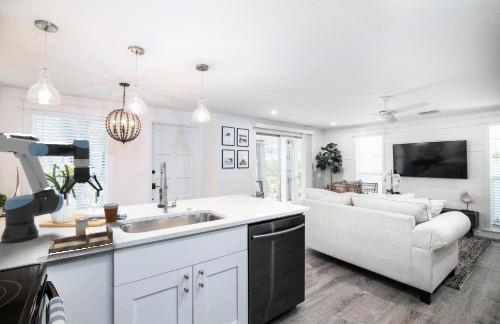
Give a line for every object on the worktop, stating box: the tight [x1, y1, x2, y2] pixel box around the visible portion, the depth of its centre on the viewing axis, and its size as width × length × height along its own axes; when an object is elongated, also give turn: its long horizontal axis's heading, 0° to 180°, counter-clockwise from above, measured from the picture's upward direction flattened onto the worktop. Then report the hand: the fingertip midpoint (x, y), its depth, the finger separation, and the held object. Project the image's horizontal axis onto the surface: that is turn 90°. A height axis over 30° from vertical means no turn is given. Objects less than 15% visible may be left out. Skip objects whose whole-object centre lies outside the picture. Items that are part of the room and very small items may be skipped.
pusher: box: [85, 227, 90, 242], centre depth 127 cm, size 1×14×6 cm, turn 35°
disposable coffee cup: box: [103, 202, 119, 224], centre depth 170 cm, size 10×10×12 cm
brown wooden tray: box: [47, 223, 114, 255], centre depth 126 cm, size 26×17×7 cm, turn 125°
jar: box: [74, 217, 90, 236], centre depth 139 cm, size 6×6×10 cm
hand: (82, 204), depth 139 cm, fingers open, 13 cm apart
